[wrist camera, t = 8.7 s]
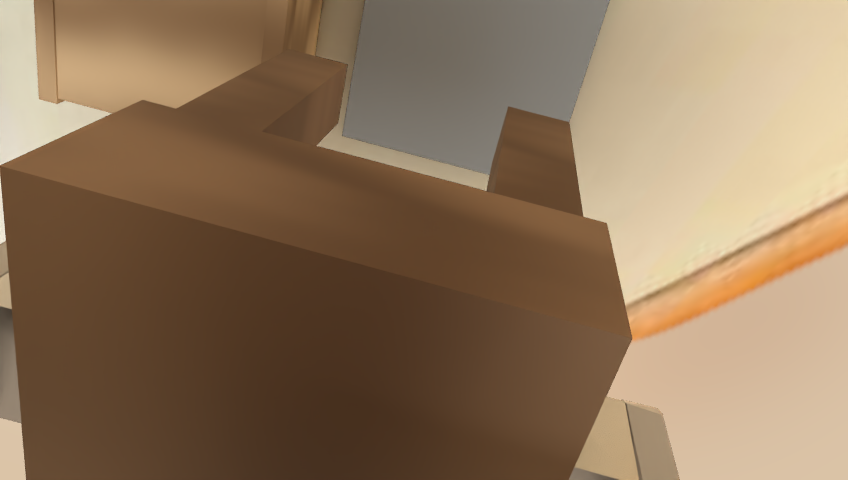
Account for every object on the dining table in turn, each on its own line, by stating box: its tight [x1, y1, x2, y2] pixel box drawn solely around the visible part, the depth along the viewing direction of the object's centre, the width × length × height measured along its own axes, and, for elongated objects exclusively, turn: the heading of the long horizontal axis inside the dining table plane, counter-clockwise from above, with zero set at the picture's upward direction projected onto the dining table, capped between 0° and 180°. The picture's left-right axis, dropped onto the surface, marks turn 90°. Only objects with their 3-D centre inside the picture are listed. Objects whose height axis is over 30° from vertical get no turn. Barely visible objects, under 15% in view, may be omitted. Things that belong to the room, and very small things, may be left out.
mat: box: [342, 0, 610, 175], centre depth 29 cm, size 10×10×1 cm
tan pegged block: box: [0, 49, 632, 480], centre depth 11 cm, size 6×6×8 cm
